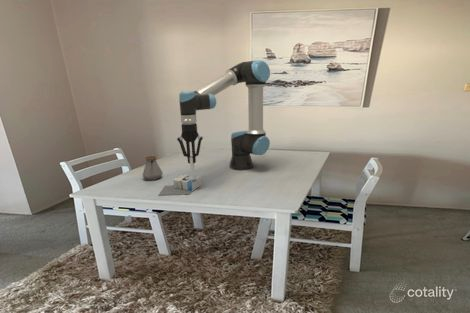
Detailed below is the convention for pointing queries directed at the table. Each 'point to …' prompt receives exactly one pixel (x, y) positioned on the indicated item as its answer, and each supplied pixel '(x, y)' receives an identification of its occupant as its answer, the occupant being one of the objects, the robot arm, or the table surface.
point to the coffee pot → (152, 169)
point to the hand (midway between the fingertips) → (192, 169)
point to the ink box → (187, 182)
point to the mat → (174, 191)
